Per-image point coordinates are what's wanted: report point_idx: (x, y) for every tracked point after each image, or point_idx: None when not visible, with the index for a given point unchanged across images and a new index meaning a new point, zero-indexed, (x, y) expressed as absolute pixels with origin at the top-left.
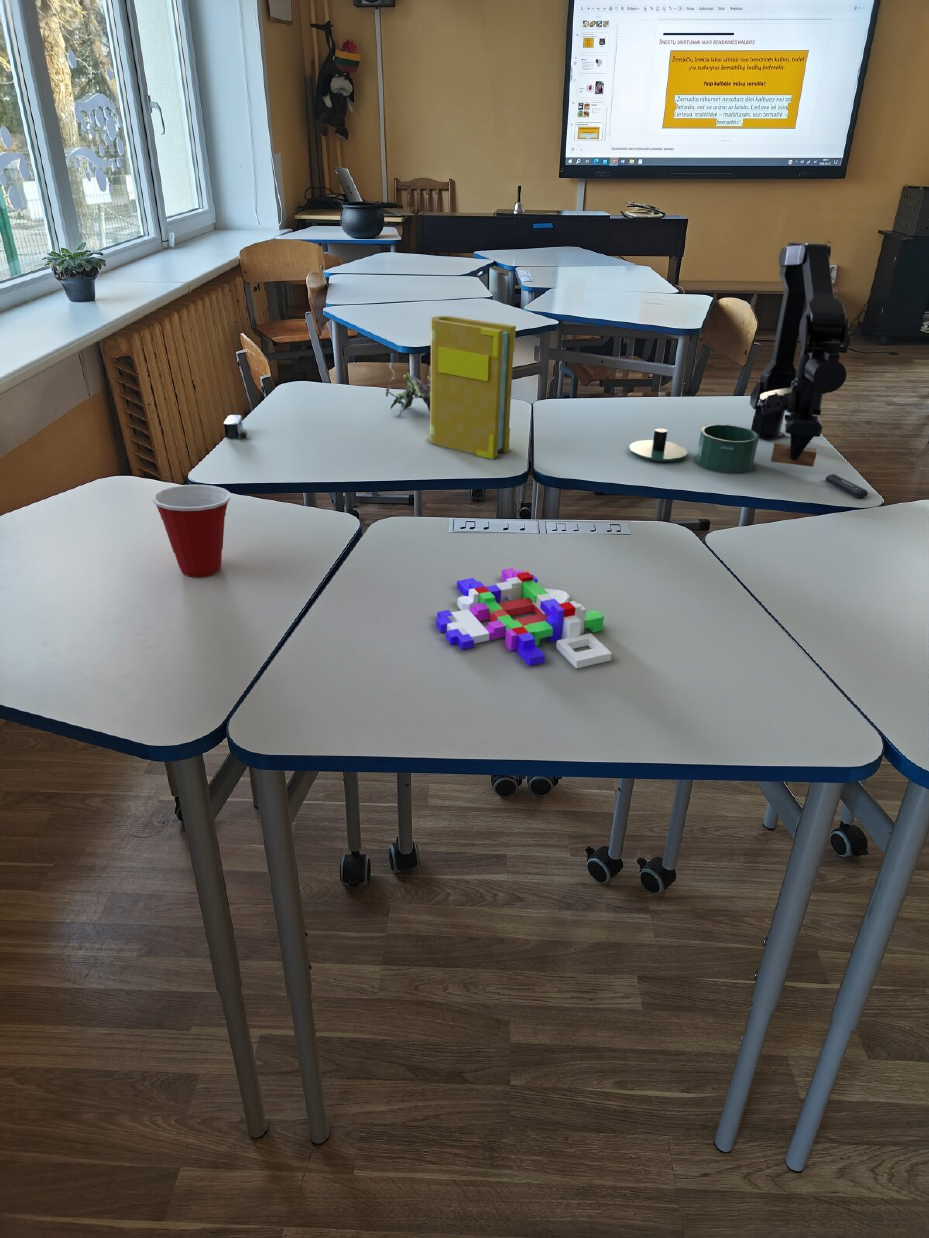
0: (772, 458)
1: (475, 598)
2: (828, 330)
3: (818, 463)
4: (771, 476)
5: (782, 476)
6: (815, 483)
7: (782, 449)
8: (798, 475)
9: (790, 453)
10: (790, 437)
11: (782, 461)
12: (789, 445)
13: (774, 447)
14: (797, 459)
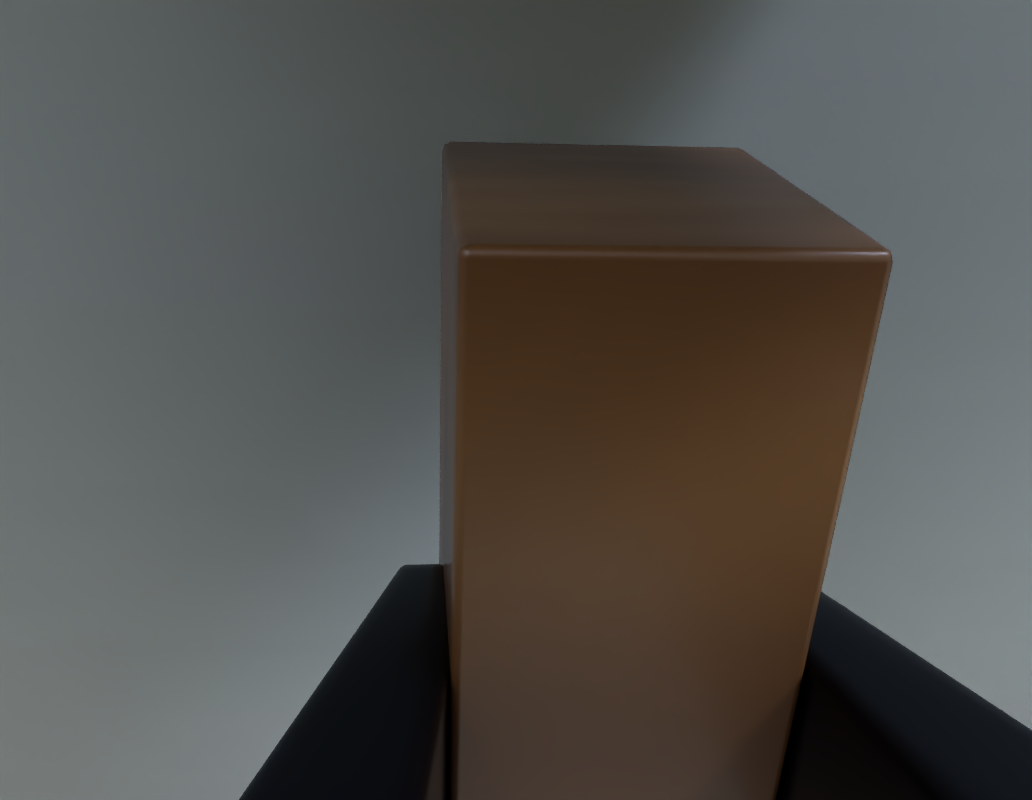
0: (444, 176)
1: None
2: None
3: None
4: (149, 144)
5: (250, 336)
6: (164, 751)
7: (451, 476)
8: (415, 559)
9: (406, 625)
10: (981, 791)
11: (442, 387)
12: (780, 647)
13: (460, 256)
14: None
